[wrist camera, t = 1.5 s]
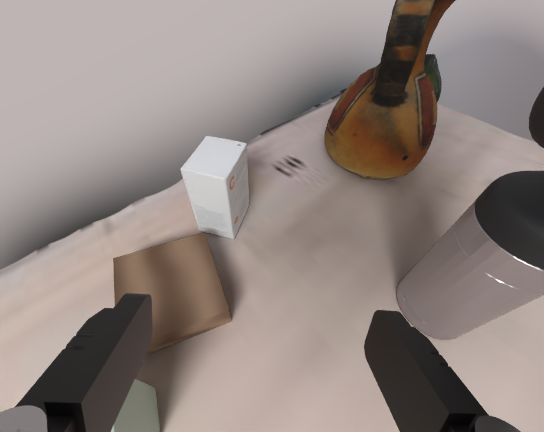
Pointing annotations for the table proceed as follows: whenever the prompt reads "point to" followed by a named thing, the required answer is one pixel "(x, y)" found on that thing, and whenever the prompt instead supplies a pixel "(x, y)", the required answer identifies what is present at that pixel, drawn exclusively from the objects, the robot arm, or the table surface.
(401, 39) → the ceramic pitcher
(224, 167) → the small box
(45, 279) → the table surface
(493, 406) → the table surface
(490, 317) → the robot arm
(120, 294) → the walnut base block
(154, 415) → the sage block
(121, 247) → the table surface
